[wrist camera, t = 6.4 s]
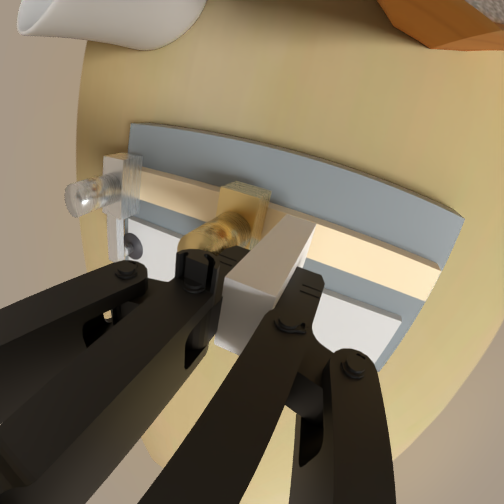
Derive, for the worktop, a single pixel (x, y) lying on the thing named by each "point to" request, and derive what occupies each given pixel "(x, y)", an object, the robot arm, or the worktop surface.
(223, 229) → the brass slider pointer
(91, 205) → the fixed leg
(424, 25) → the potted plant
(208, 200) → the board
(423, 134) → the worktop surface
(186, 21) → the mug
